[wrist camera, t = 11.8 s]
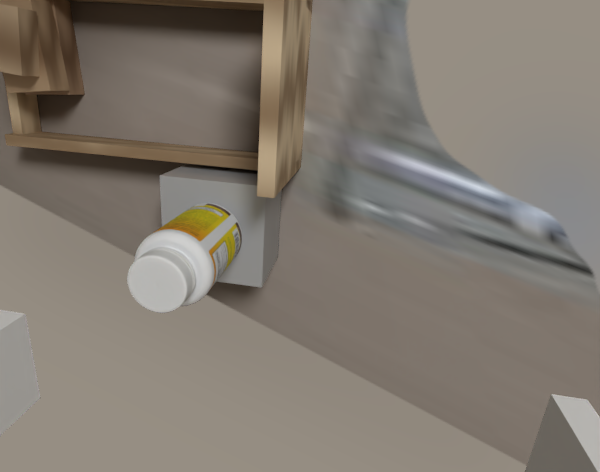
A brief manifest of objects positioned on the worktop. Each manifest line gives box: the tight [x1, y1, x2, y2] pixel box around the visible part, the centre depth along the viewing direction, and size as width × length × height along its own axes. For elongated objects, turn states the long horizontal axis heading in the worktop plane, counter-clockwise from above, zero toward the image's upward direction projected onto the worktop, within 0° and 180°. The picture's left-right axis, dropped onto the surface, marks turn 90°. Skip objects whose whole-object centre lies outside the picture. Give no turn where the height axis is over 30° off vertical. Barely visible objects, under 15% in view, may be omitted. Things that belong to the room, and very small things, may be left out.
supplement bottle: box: [127, 203, 242, 313], centre depth 31 cm, size 6×6×10 cm
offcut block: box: [0, 4, 40, 77], centre depth 34 cm, size 5×3×2 cm, turn 171°
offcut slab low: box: [26, 0, 85, 95], centre depth 39 cm, size 8×4×2 cm, turn 0°
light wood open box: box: [5, 0, 313, 198], centre depth 33 cm, size 14×28×12 cm, turn 86°
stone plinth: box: [160, 164, 282, 287], centre depth 39 cm, size 9×9×7 cm
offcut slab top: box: [0, 0, 70, 93], centre depth 36 cm, size 8×4×2 cm, turn 3°
